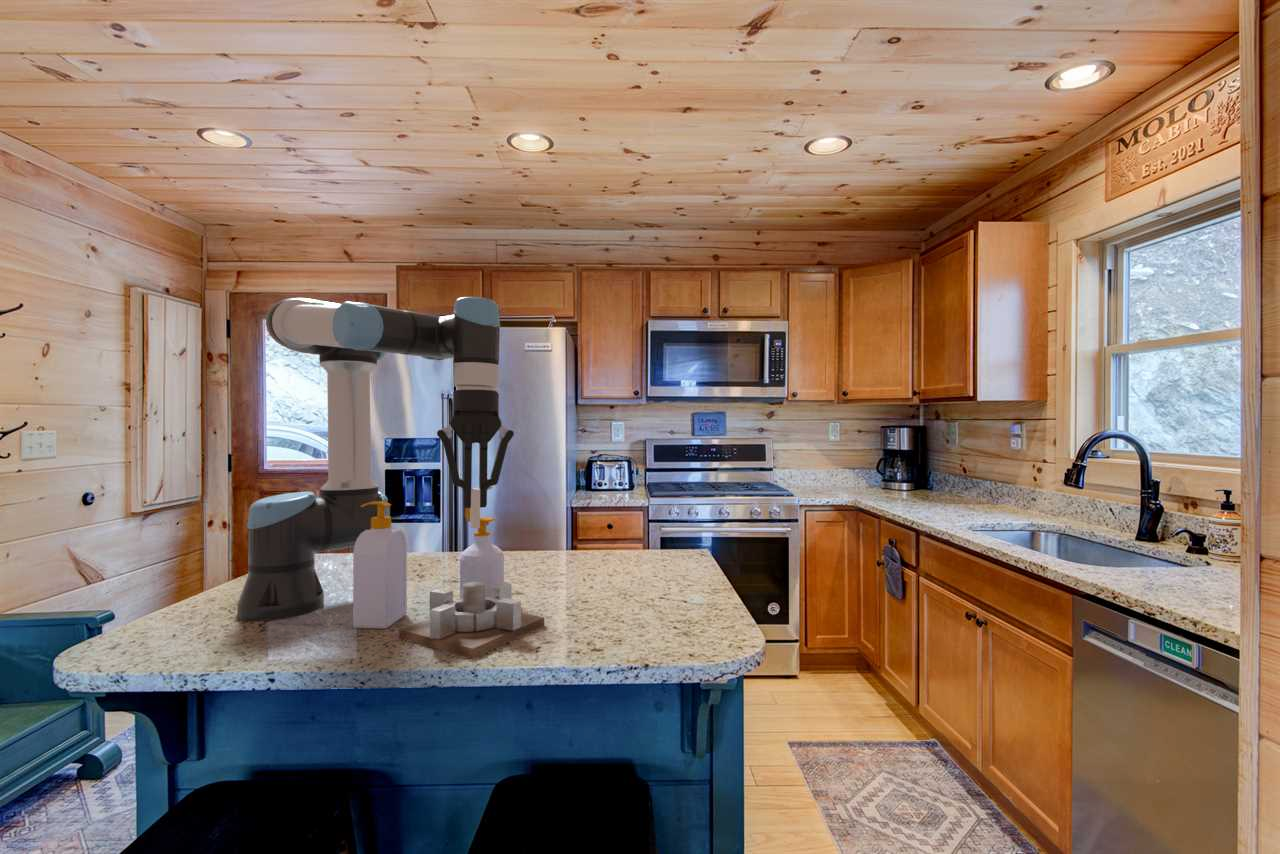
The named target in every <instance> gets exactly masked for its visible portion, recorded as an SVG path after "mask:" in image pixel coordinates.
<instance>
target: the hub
mask: <svg viewBox="0 0 1280 854" xmlns="http://www.w3.org/2000/svg"><path fill="white" fill-rule="evenodd" d="M484 610H485V583H483V582H470V583H466V584H464V585H463V593H462V612H479V611H484ZM544 626H545V617H544V616H540V615H535V614H529V613H523V612H521V627H519V628H517V629H515V630H513V631H512V630H507V629H501V628H496V627H493V628H489V629H484V630H480V631H476V630H474V631H473V632H468V631H455V633H453V634H451V635H448V636H446V637H444V638H442V639H437V638H431V637H430V618H428V619H426V620H423V621H420V622H416V623H414V624H412V625H408V626H405V627H403V628H400V629H398V638H399V639H402V640H405V641H408V642H412V643H416V644H420V645H422V646H423V645H424V646H428V647H431V648H433V649H434V648H435V649H438V650H442V651H446V652H449V653H453V654H457V655H460V656H464V657H468V658H472V659H474V658H476V657H477V656H480V655H482V654H484V653H486V652H489V651H491V650H493V649H496V648H498V647H500V646H502V645H504V644H506V643H509V642H511V641H513V640H515V639H517V638H520V637H523V636H524V635H526V634H528V633H530V632H531V633H532V632H533V631H535V630H537V629H540V628H542V627H544Z"/></svg>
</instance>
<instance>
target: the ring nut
mask: <svg viewBox="0 0 1280 854" xmlns="http://www.w3.org/2000/svg"><path fill="white" fill-rule="evenodd" d="M512 587H513V586H512V583H508V582H504V583H500V584H498V585H495V586H492V587H491V597H485V610H484V611H479V612H462V599H460V598H459V599H455V600H454V598H453V597H454V593H453V592H454V590H452V589H445V588H436V589H432V590H429V619H430V637H431V638H437V639H442V638H444V637H446V636H448V635H451V634H453V633H455V631H468V632H473V631H474V630H476V631H480V630H484V629H489V628H493V627H496V628H501V629H507V630H512V631H513V630H515V629H517V628H519V627H521V613H522V607H521V605H522V601H521V600H517V599H512V598H513V597H512V593H513V592H512V590H513V589H512Z"/></svg>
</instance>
